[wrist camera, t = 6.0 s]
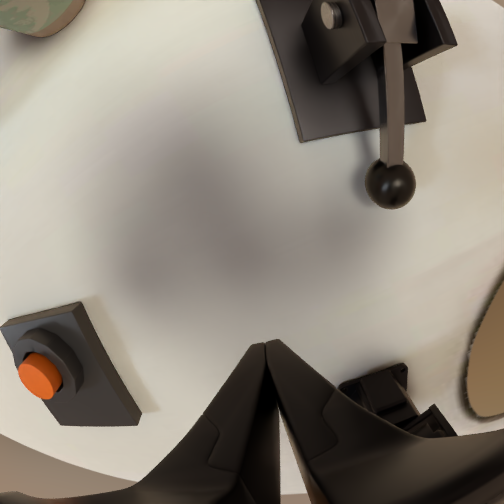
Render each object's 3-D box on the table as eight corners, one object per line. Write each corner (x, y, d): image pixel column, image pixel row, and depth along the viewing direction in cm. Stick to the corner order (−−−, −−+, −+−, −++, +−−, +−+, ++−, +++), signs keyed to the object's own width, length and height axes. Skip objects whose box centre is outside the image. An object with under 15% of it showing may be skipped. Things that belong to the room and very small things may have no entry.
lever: (398, 185, 19) (422, 213, 17) (357, 195, 19) (377, 225, 17) (390, -9, 10) (426, -9, 8) (336, -11, 10) (365, -14, 8)
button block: (142, 413, 25) (133, 440, 21) (66, 415, 25) (54, 436, 22) (81, 301, 21) (60, 322, 18) (8, 319, 22) (-12, 337, 18)
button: (69, 386, 20) (61, 399, 18) (42, 387, 20) (33, 399, 19) (47, 350, 19) (37, 362, 17) (21, 353, 19) (11, 364, 18)
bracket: (418, 123, 18) (503, 113, 10) (299, 143, 19) (343, 129, 10) (372, -10, 15) (425, -67, 7) (255, -2, 15) (262, -81, 7)
